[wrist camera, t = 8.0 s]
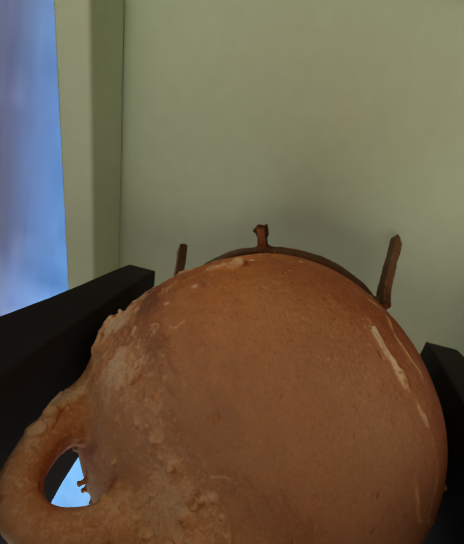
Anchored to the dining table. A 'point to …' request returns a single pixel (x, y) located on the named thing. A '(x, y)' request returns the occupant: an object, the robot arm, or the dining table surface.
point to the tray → (269, 139)
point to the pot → (242, 415)
